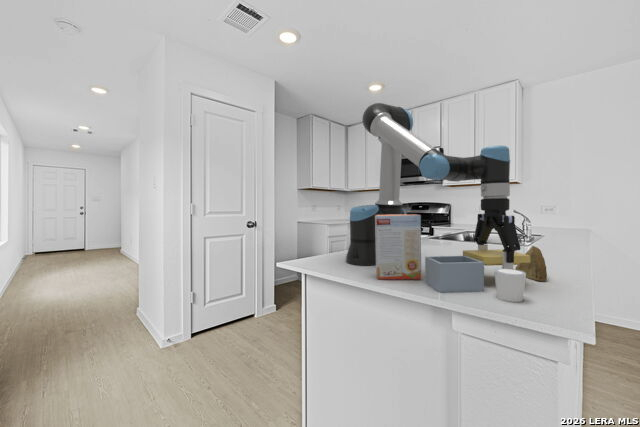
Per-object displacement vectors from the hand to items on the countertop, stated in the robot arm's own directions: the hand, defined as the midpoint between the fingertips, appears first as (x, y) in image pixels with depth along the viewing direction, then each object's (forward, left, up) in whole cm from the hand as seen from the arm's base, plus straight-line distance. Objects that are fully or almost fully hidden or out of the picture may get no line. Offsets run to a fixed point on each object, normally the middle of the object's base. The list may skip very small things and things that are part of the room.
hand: (494, 268), depth 88 cm
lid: (0, 0, +3) cm, 3 cm away
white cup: (+15, -6, -4) cm, 16 cm away
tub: (+4, -15, -4) cm, 16 cm away
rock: (-3, +14, -4) cm, 15 cm away
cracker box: (-7, -28, -4) cm, 29 cm away
